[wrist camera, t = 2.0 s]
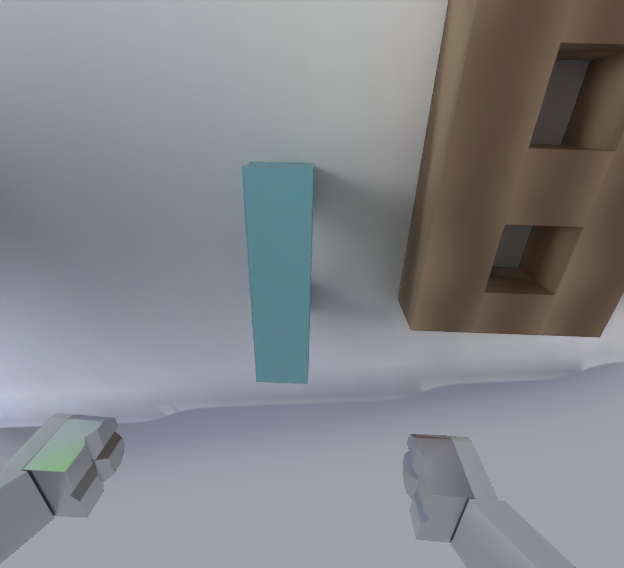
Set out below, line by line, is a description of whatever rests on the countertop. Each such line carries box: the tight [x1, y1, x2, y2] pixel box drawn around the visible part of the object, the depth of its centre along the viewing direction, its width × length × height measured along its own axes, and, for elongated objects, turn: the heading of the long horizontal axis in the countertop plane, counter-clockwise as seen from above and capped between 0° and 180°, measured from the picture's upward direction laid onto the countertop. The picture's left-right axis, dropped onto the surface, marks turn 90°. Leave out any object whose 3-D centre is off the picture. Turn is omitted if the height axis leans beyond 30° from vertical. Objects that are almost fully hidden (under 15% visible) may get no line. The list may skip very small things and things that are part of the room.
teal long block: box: [242, 162, 314, 384], centre depth 19 cm, size 3×12×7 cm, turn 179°
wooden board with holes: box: [398, 0, 624, 337], centre depth 18 cm, size 12×18×4 cm, turn 178°
